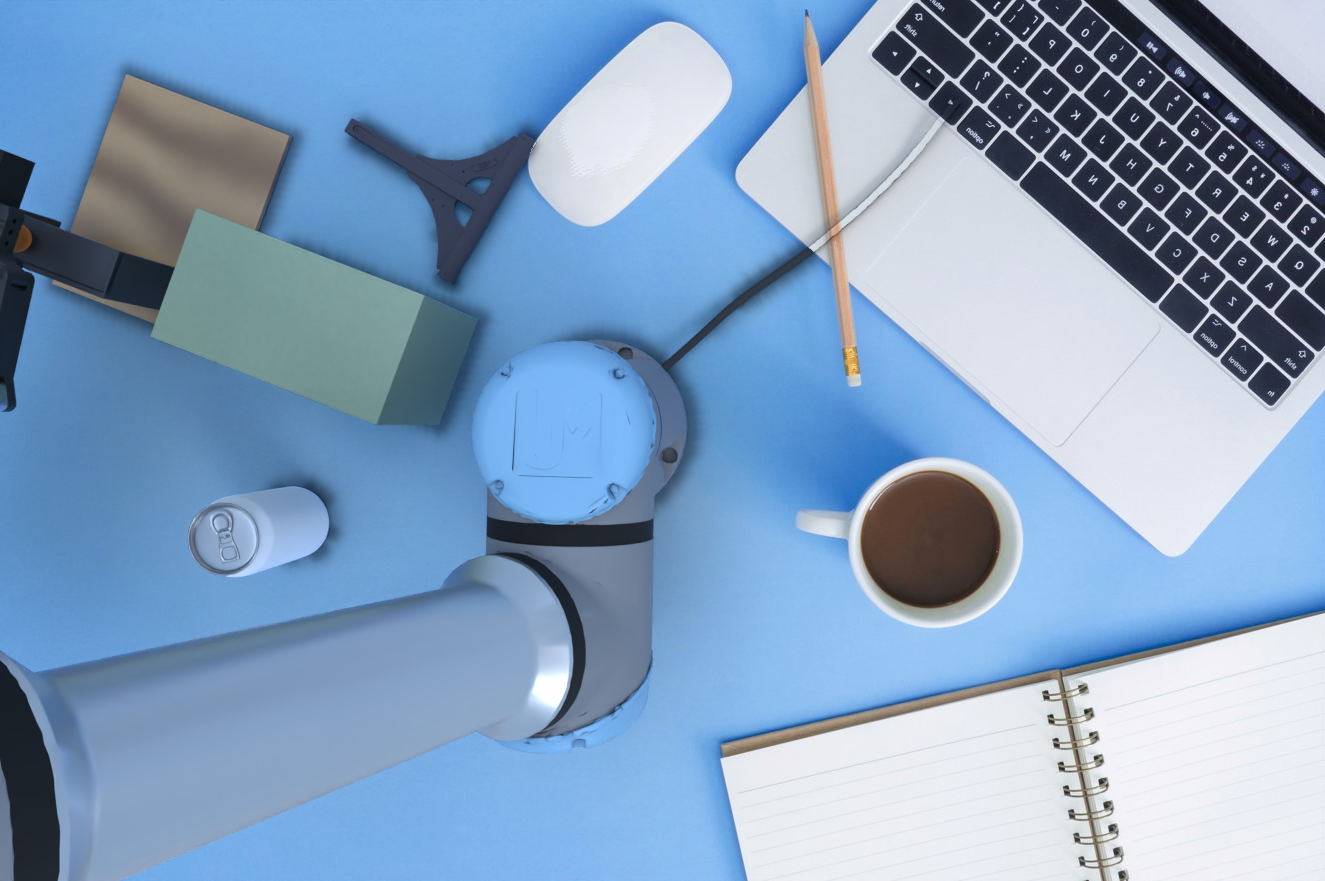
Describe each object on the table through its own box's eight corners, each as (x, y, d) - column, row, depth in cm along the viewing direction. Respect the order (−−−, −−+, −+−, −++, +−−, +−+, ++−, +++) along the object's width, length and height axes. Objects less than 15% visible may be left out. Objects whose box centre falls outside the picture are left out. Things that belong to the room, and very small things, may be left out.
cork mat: (130, 76, 79) (125, 73, 79) (292, 137, 79) (289, 135, 78) (56, 284, 80) (51, 283, 79) (216, 347, 79) (212, 346, 79)
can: (321, 478, 79) (252, 488, 67) (339, 548, 79) (273, 570, 67) (253, 495, 79) (172, 508, 67) (270, 564, 79) (193, 590, 67)
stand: (293, 248, 79) (196, 207, 64) (478, 319, 78) (424, 295, 63) (254, 353, 79) (149, 336, 64) (439, 424, 78) (376, 425, 63)
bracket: (395, 60, 78) (384, 47, 75) (538, 144, 77) (531, 134, 75) (315, 201, 79) (300, 193, 76) (456, 286, 78) (446, 281, 75)
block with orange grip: (55, 219, 76) (-163, 151, 57) (204, 276, 75) (34, 226, 56) (41, 260, 76) (-181, 205, 57) (189, 316, 76) (15, 280, 56)
